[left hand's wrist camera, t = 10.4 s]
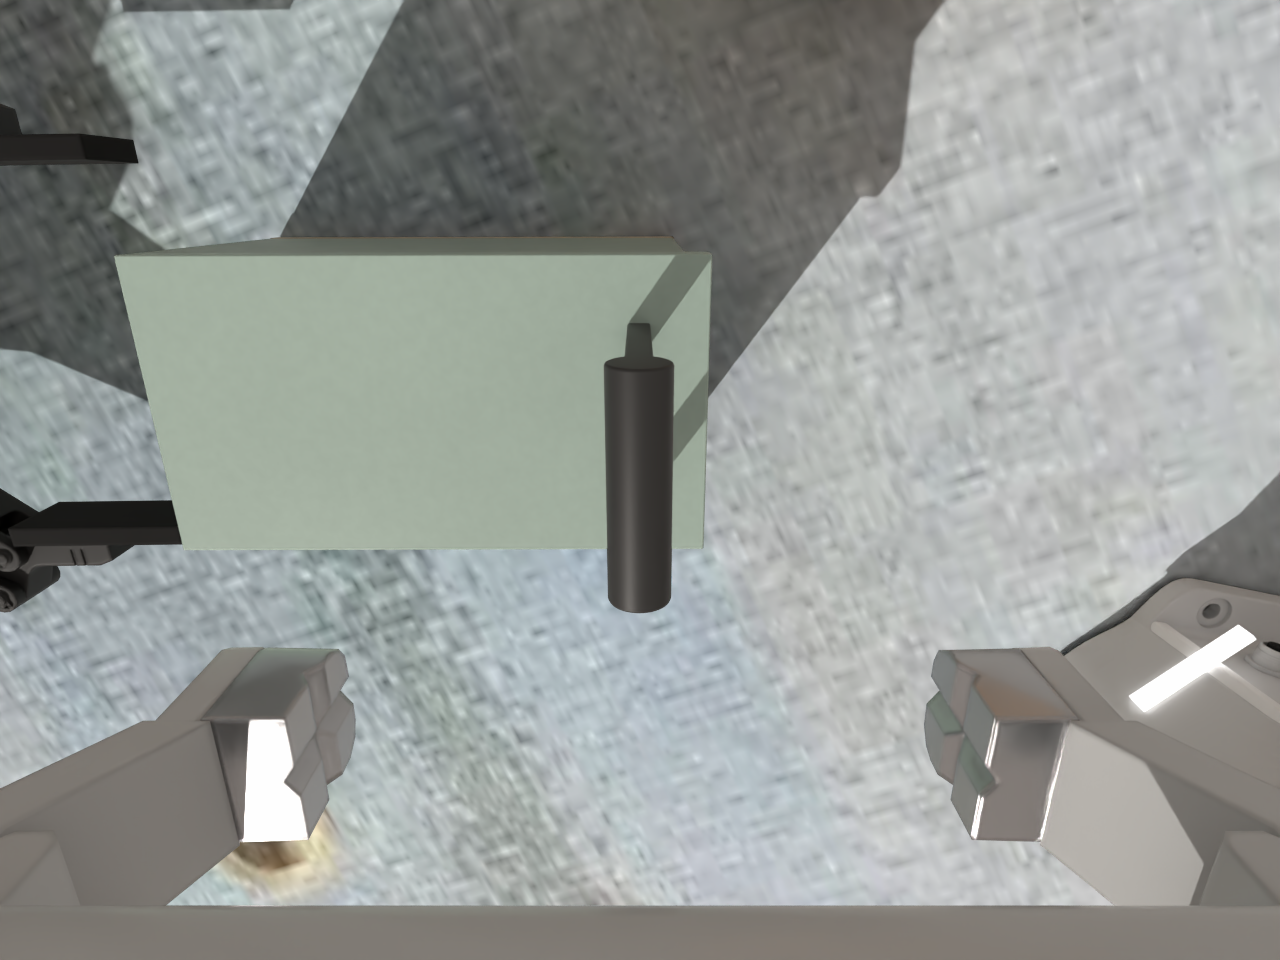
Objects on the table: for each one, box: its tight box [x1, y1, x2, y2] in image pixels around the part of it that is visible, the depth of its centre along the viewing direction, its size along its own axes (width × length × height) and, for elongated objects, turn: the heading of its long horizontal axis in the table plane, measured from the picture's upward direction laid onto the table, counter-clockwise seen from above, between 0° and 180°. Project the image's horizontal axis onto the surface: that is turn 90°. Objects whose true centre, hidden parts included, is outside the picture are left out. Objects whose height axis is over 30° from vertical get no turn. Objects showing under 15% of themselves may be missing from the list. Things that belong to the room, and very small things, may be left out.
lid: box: [114, 252, 712, 613], centre depth 21 cm, size 18×10×8 cm, turn 90°
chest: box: [142, 236, 684, 253], centre depth 29 cm, size 17×10×10 cm, turn 90°
